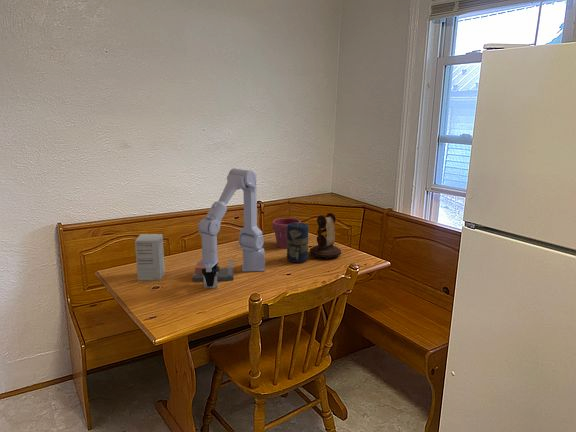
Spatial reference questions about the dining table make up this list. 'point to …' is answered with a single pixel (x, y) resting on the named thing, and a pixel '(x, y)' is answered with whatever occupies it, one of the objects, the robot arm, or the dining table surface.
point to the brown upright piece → (326, 238)
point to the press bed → (222, 273)
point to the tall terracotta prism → (199, 268)
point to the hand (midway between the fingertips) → (210, 282)
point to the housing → (214, 282)
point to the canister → (297, 242)
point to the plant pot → (282, 230)
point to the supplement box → (149, 256)
